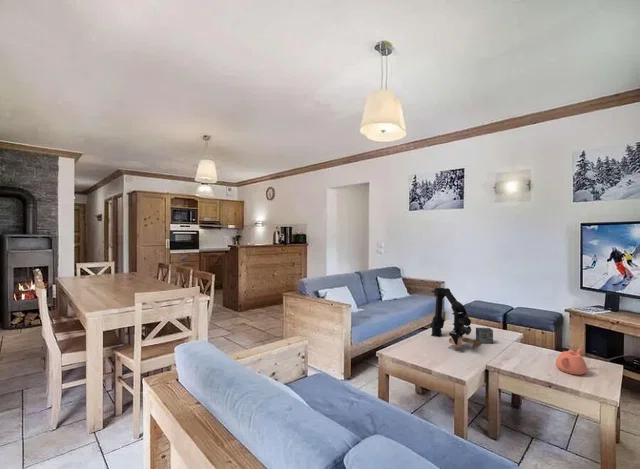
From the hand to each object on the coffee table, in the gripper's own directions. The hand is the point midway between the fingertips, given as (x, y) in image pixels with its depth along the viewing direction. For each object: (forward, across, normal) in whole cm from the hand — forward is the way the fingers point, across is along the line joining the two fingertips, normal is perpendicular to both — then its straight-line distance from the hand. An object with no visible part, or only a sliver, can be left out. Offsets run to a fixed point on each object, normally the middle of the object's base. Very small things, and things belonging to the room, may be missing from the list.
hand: (458, 343), depth 232 cm
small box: (+4, +26, -10) cm, 29 cm away
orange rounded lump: (+4, +10, -64) cm, 65 cm away
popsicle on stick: (+3, 0, +1) cm, 3 cm away
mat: (+4, 0, 0) cm, 4 cm away
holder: (+4, +13, 0) cm, 14 cm away
